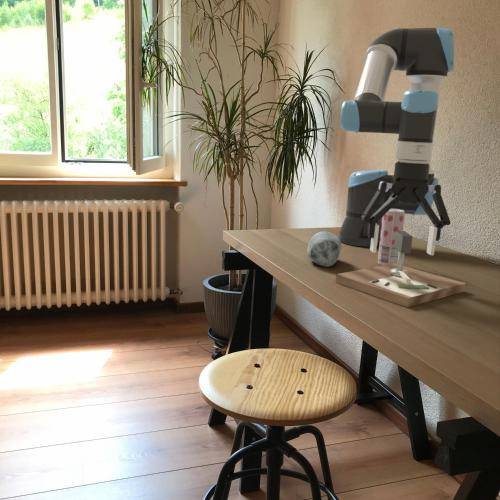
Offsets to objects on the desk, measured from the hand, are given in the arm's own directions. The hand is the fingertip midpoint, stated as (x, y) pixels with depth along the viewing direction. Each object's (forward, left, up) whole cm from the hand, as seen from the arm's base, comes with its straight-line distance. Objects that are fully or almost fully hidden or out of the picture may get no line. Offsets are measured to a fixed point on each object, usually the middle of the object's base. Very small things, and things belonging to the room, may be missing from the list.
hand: (401, 252), depth 123 cm
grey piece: (+2, +2, -5) cm, 6 cm away
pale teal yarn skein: (+2, -23, -8) cm, 24 cm away
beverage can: (-13, -13, -8) cm, 20 cm away
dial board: (+2, +2, -8) cm, 8 cm away
